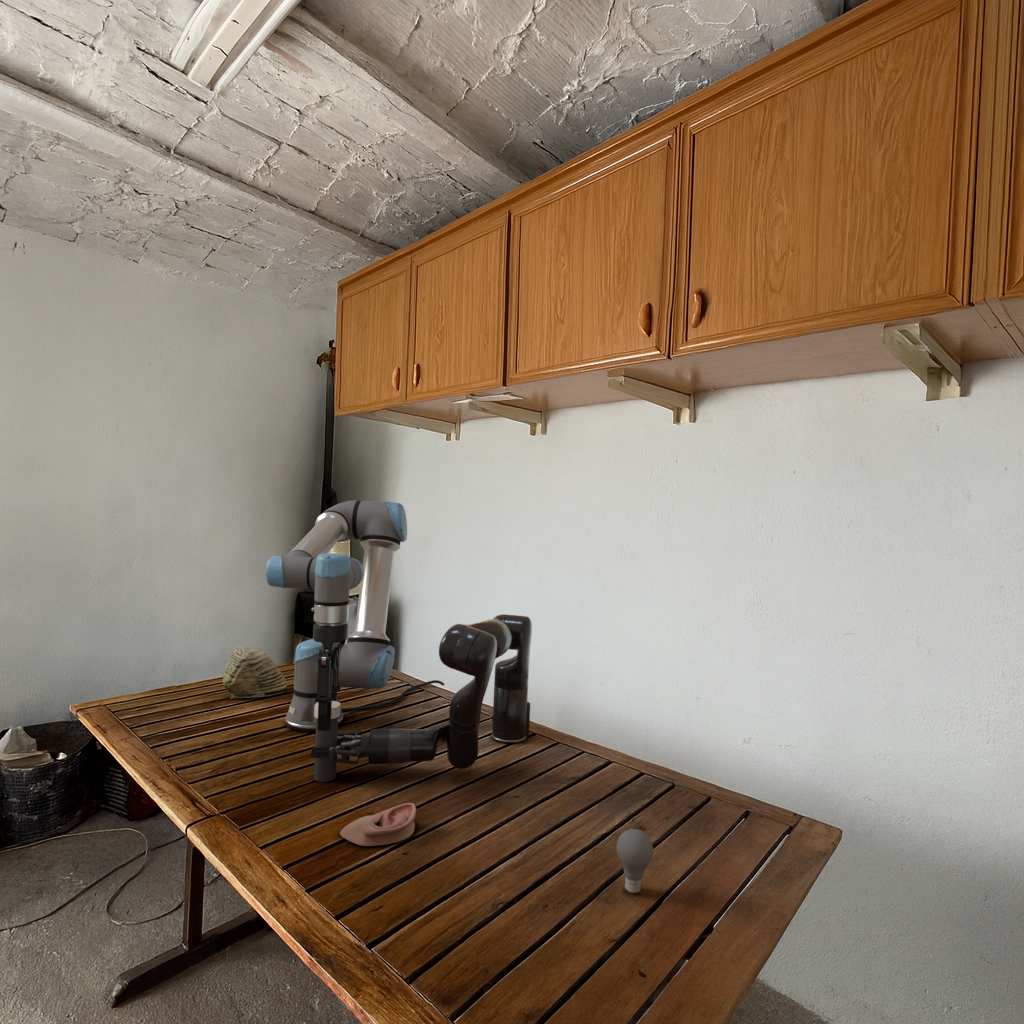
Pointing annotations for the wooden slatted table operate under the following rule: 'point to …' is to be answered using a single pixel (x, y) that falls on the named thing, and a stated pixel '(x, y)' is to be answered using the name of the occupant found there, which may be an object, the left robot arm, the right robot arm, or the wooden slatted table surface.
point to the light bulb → (634, 857)
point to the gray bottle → (324, 766)
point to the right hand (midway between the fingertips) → (313, 747)
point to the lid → (334, 710)
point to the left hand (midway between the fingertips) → (326, 724)
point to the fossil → (252, 674)
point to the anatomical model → (382, 826)
